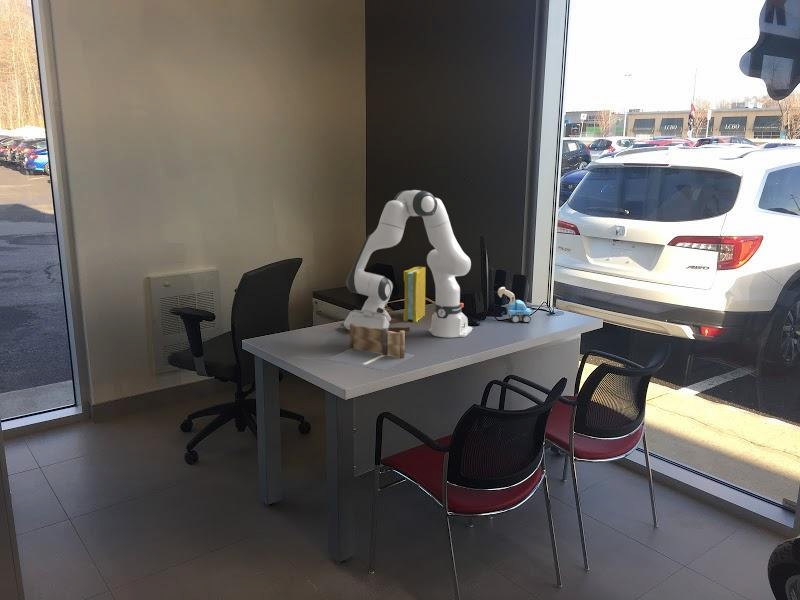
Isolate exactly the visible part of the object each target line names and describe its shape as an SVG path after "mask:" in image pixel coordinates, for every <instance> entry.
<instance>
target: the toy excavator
mask: <svg viewBox="0 0 800 600" xmlns="http://www.w3.org/2000/svg"><path fill="white" fill-rule="evenodd" d="M497 295H498V296H499V298H502V297H503V295H505V296H506V297H508V298H509V303H508V307H507V312H508V316H509V319H510V318H511V319H510V320H511V322H512V323H514V322H517V323H519V322H523V323H524V322H529V323H530V322H531V316H530V314H531V313H532V309H531V308H529V307H527V305H526V304H525V302H524V301H522V300H520V299H516V298H515V297H516V296H515V294H514V293H513V292H511V291H510V290H507V289H506V287H505V286H501V287H499V288H498V289H497Z"/></svg>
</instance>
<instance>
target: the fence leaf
mask: <svg viewBox="0 0 800 600" xmlns="http://www.w3.org/2000/svg"><path fill="white" fill-rule="evenodd" d="M349 347H350V348H349V349H351V348H352V349H356V350H362V351H369V352H376V353H382V329H379V328H371V327H363V326H355V324H350V333H349Z"/></svg>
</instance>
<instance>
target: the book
mask: <svg viewBox="0 0 800 600" xmlns="http://www.w3.org/2000/svg"><path fill="white" fill-rule="evenodd" d="M403 282H404V311H403V322H409V321H410V320H412V322H413V323H417V322H419V321H420V320H421V319H422V318H424V317H425V316H426V266H414V267H412V268H409V269H407V270H403ZM423 316H424V317H423ZM418 320H419V321H418Z"/></svg>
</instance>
